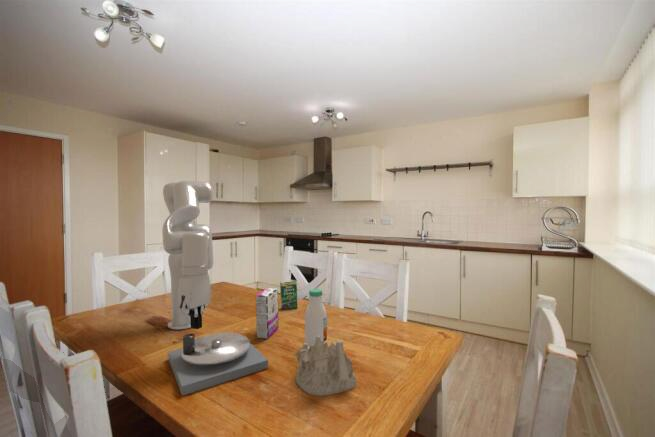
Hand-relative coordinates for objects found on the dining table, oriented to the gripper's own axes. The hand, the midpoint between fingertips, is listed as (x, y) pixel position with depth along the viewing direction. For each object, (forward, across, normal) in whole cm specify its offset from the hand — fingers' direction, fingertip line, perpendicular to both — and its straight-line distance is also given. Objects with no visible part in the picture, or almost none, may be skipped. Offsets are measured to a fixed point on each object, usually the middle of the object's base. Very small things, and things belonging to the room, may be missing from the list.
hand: (196, 327), depth 98 cm
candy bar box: (+10, -27, +10) cm, 30 cm away
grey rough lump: (+12, -4, +42) cm, 44 cm away
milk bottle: (+11, -22, +32) cm, 41 cm away
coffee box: (+10, -57, +4) cm, 58 cm away
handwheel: (+7, 0, +7) cm, 10 cm away
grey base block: (+11, 0, +7) cm, 13 cm away
